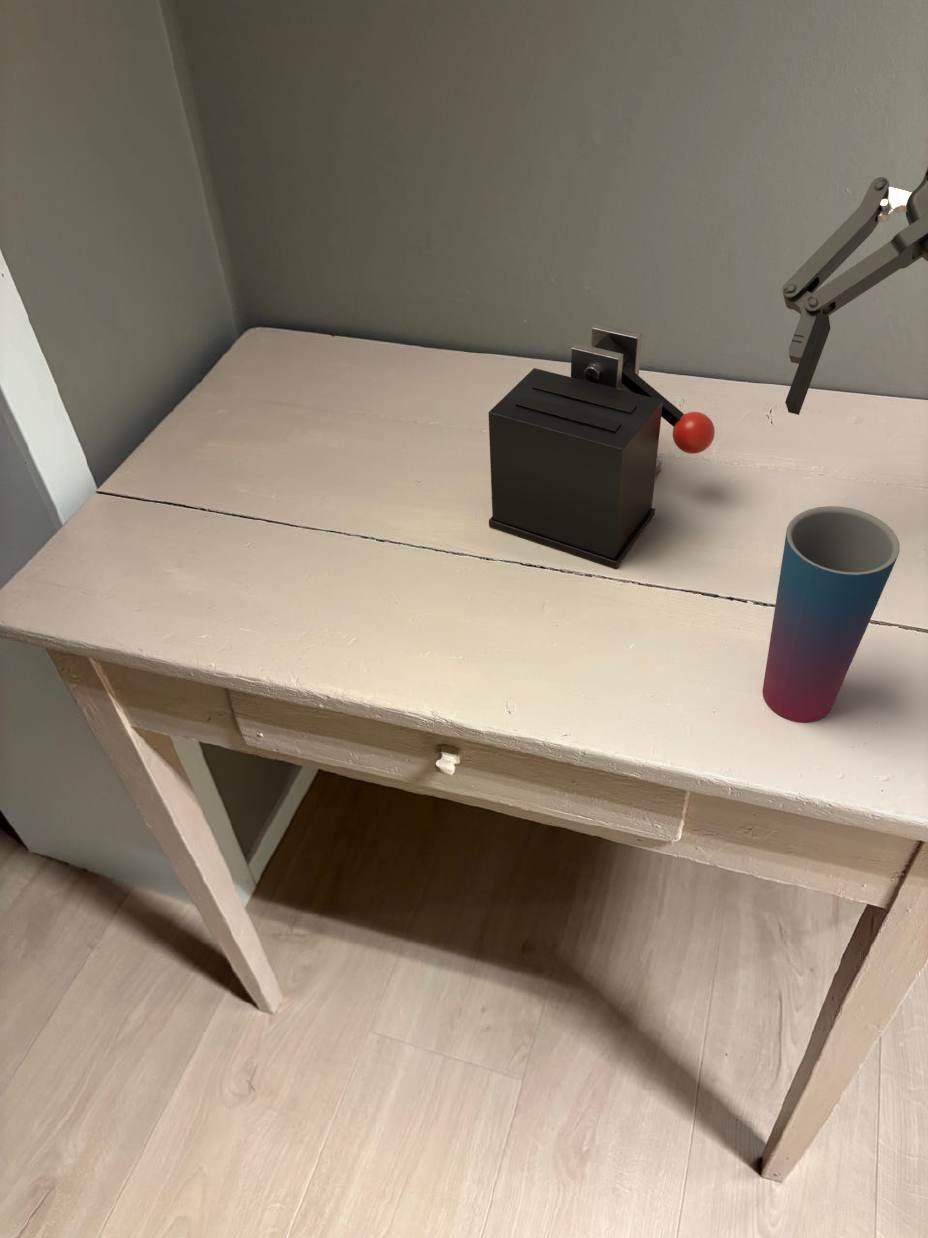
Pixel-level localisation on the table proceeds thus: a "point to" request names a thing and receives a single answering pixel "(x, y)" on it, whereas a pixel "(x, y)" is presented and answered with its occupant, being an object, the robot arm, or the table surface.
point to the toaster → (574, 465)
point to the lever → (667, 408)
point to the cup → (824, 606)
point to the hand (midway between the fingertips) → (890, 432)
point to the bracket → (607, 359)
